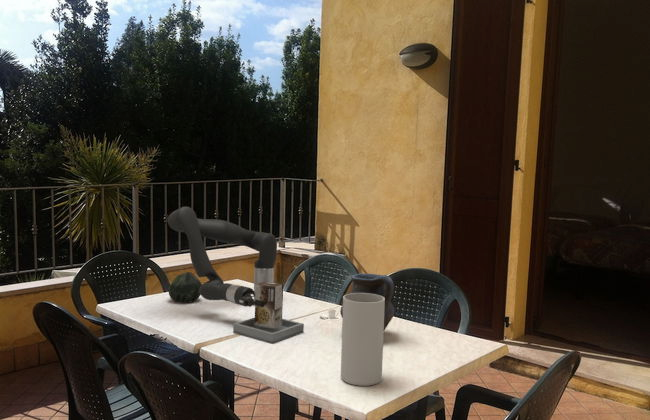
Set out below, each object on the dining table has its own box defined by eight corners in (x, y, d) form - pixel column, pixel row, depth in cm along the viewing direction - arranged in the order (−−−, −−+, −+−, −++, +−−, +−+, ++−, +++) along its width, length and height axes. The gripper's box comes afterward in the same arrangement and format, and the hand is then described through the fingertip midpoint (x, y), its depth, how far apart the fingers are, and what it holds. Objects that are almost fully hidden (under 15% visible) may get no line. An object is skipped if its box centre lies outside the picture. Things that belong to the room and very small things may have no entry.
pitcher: (364, 325, 219) (366, 265, 217) (407, 338, 203) (410, 273, 201) (329, 335, 204) (331, 270, 202) (372, 350, 189) (374, 280, 187)
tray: (265, 322, 218) (265, 314, 218) (303, 332, 207) (303, 323, 206) (233, 332, 204) (233, 323, 204) (272, 343, 192) (272, 334, 192)
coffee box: (282, 325, 206) (284, 283, 205) (274, 329, 200) (275, 286, 199) (262, 321, 210) (263, 280, 209) (253, 325, 204) (255, 283, 203)
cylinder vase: (334, 382, 158) (337, 299, 157) (348, 368, 170) (350, 291, 168) (375, 389, 154) (378, 304, 152) (386, 374, 166) (389, 295, 164)
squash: (173, 285, 259) (170, 265, 248) (204, 286, 261) (203, 267, 250) (168, 309, 249) (165, 290, 238) (200, 311, 251) (199, 292, 240)
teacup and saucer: (317, 319, 227) (318, 310, 226) (324, 315, 234) (325, 306, 234) (337, 322, 223) (337, 313, 223) (343, 317, 231) (343, 308, 230)
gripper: (227, 288, 207) (258, 296, 198) (253, 283, 219) (283, 290, 209) (226, 307, 208) (257, 315, 198) (252, 301, 219) (282, 308, 210)
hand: (270, 302), depth 204 cm, fingers closed on coffee box, 7 cm apart
